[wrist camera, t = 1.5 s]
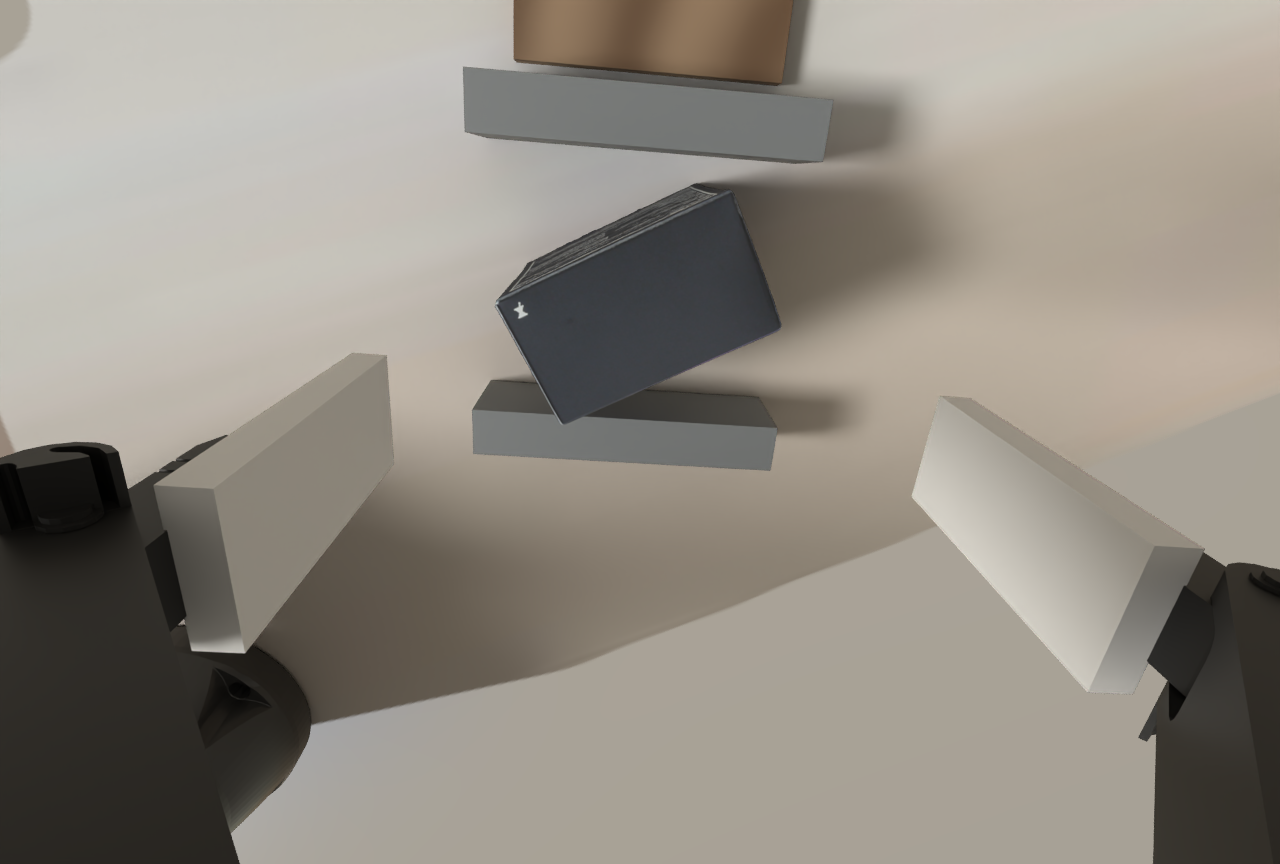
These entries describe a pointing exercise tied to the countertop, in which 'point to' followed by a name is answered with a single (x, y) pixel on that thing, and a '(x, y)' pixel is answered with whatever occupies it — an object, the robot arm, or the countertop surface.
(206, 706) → the robot arm
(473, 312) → the countertop surface
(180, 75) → the countertop surface
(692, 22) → the walnut pad
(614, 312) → the small box
